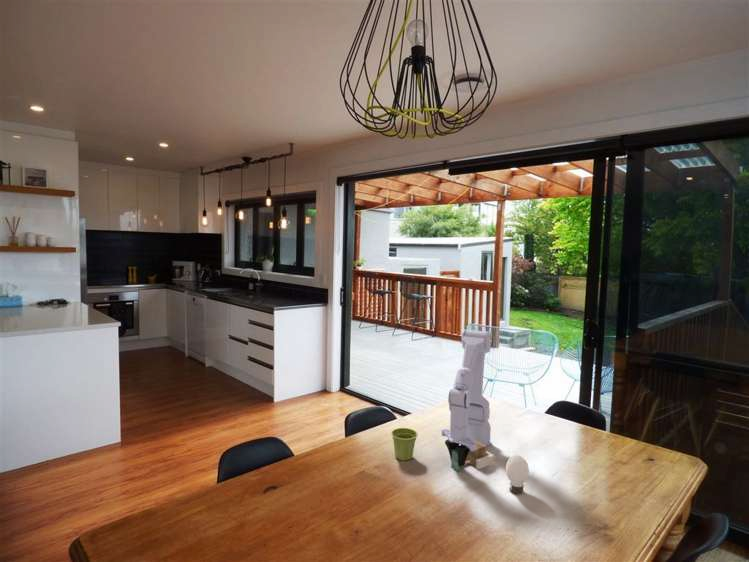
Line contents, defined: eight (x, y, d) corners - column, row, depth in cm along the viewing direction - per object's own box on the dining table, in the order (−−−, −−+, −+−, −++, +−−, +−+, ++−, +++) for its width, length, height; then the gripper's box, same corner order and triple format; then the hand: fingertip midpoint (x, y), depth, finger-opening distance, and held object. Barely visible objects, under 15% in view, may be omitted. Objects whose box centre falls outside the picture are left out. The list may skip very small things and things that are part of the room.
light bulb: (512, 497, 131) (513, 462, 131) (501, 485, 138) (502, 452, 137) (532, 495, 133) (533, 460, 132) (520, 483, 139) (521, 450, 139)
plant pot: (417, 451, 161) (417, 428, 160) (417, 464, 151) (417, 439, 151) (391, 450, 162) (392, 427, 161) (390, 462, 152) (390, 438, 152)
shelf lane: (474, 453, 160) (475, 445, 160) (494, 463, 152) (494, 455, 152) (459, 458, 156) (459, 450, 155) (478, 469, 148) (478, 460, 148)
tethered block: (475, 456, 157) (475, 440, 157) (485, 462, 153) (486, 445, 153) (449, 465, 150) (449, 448, 150) (459, 472, 146) (460, 454, 146)
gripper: (435, 419, 152) (434, 457, 153) (465, 434, 140) (464, 475, 141) (450, 415, 156) (449, 452, 157) (481, 429, 144) (480, 469, 145)
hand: (457, 463), depth 149 cm, fingers closed on tethered block, 3 cm apart
